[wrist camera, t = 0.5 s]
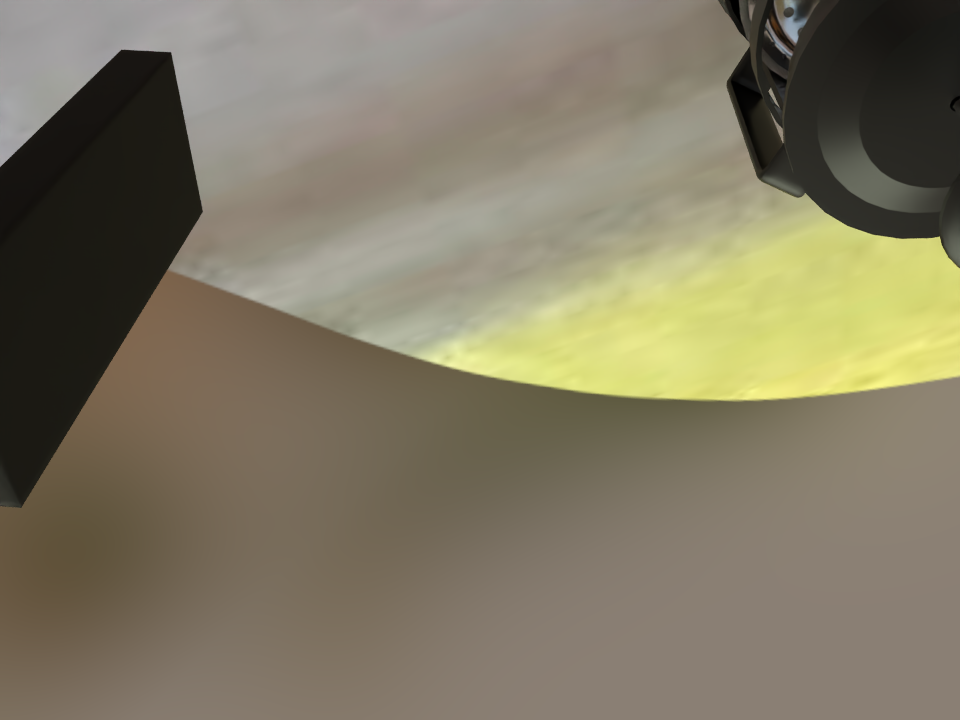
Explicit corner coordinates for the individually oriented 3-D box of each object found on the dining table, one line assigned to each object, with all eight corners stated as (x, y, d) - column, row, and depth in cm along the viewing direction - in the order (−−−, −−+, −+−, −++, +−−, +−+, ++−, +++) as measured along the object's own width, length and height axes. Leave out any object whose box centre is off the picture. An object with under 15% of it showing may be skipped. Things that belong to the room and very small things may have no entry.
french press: (806, -269, 33) (1080, -137, 15) (1007, -149, 35) (1456, 91, 17) (642, 22, 40) (702, 340, 23) (817, 108, 42) (997, 464, 24)
